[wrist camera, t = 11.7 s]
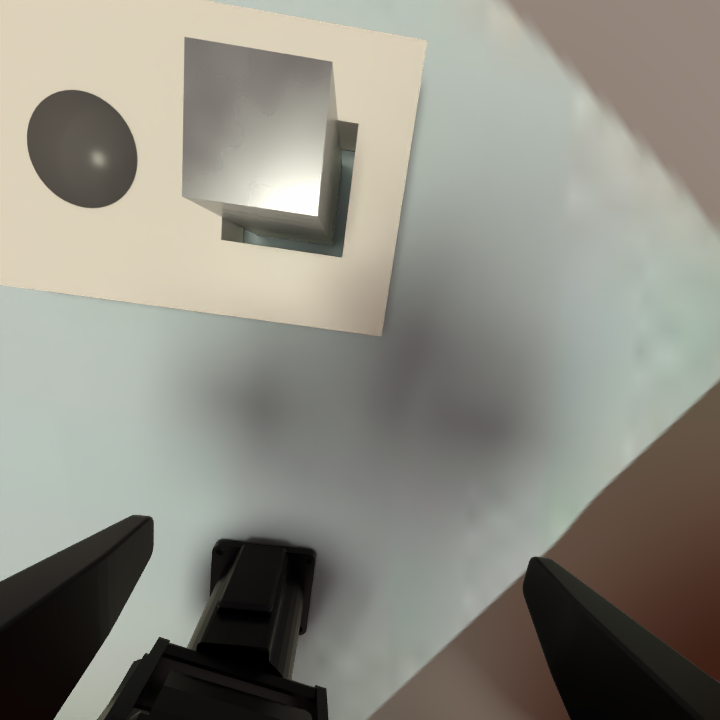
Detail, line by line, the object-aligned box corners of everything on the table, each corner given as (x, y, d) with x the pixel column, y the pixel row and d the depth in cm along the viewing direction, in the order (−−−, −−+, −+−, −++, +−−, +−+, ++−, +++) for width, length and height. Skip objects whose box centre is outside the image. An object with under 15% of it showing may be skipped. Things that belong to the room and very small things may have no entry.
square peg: (332, 246, 18) (317, 215, 10) (257, 235, 18) (181, 196, 10) (341, 164, 17) (332, 61, 9) (262, 151, 17) (184, 36, 9)
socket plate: (377, 328, 19) (381, 336, 16) (44, 283, 18) (-17, 282, 15) (413, 84, 16) (427, 39, 13) (29, 17, 15) (-50, -48, 12)
